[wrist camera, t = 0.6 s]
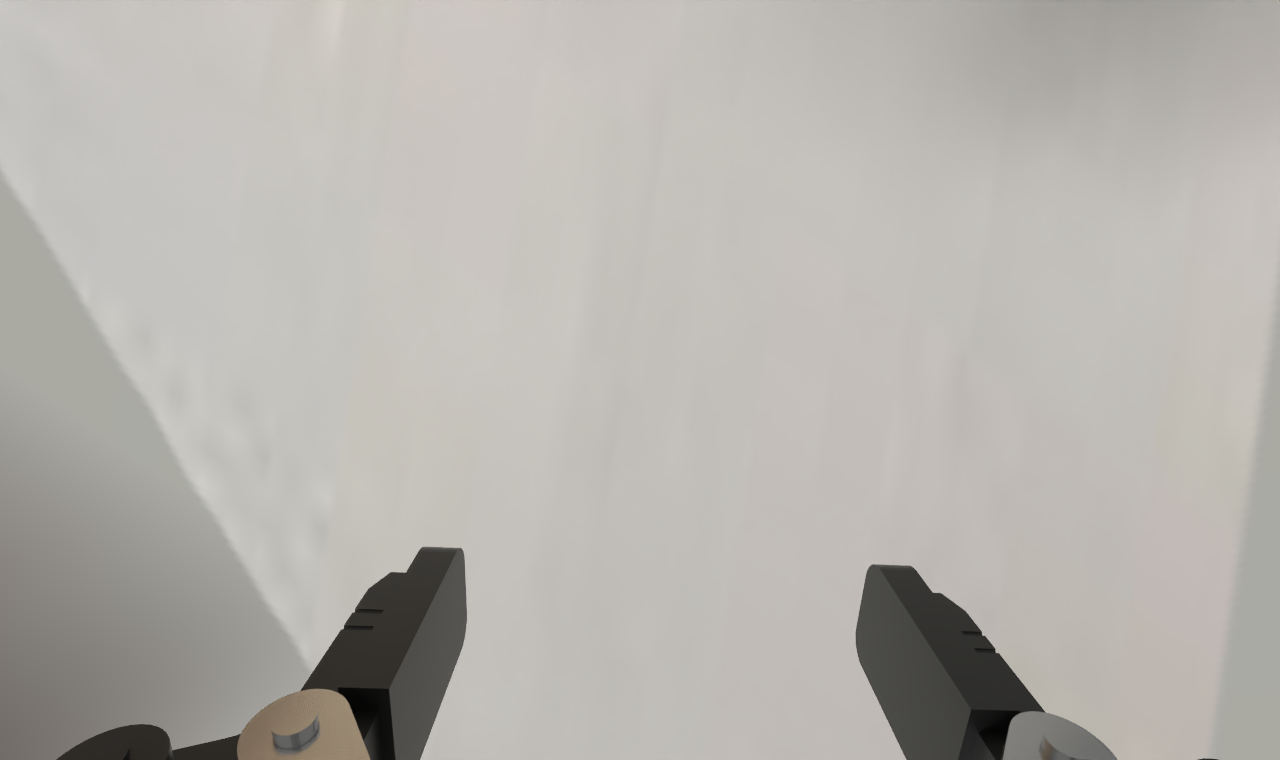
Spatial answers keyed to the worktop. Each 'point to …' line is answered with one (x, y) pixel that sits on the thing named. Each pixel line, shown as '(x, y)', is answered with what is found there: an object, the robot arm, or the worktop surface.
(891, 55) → the worktop surface
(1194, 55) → the worktop surface
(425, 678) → the robot arm
